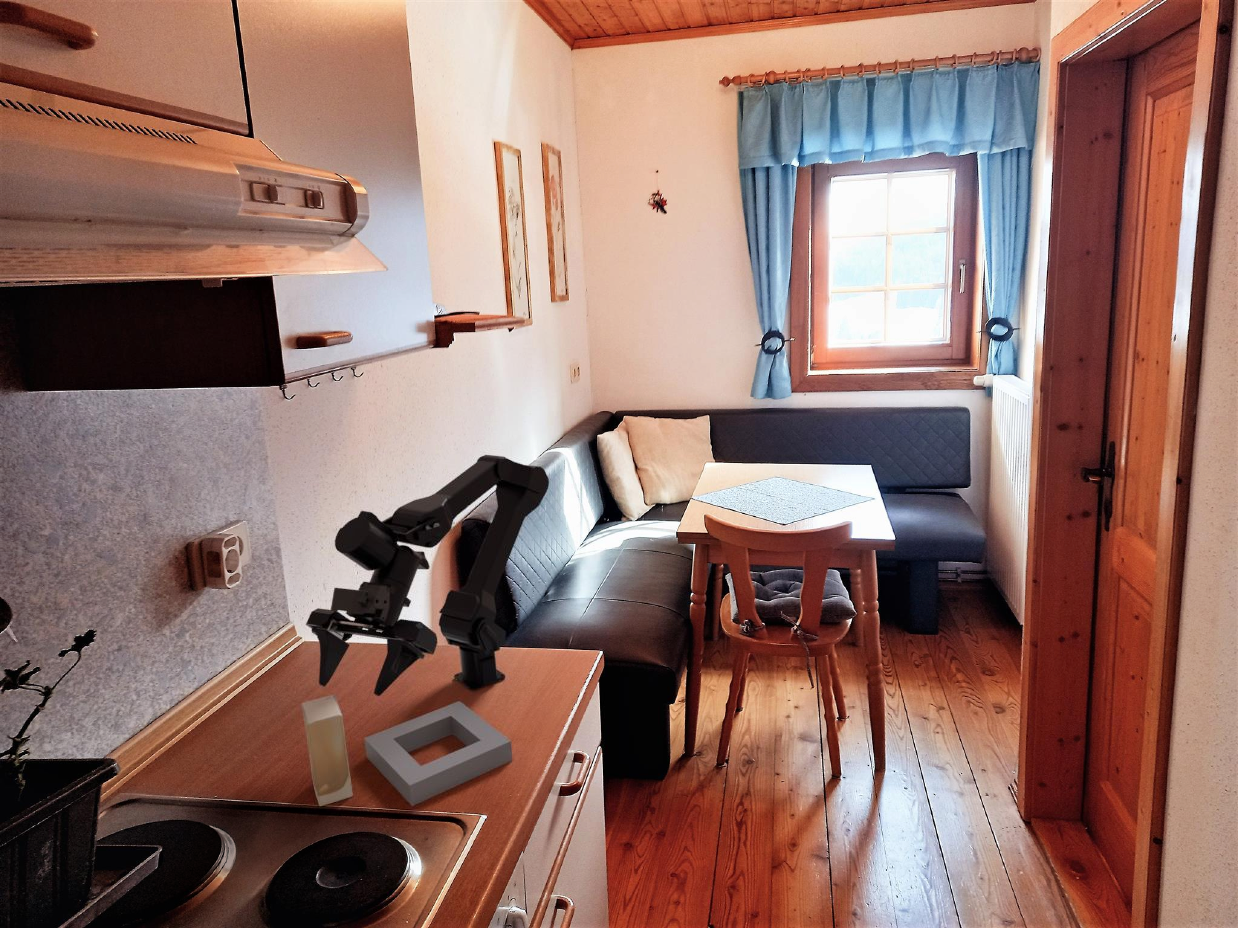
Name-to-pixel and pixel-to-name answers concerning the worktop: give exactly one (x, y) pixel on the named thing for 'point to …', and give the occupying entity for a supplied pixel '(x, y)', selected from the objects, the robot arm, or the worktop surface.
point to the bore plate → (447, 771)
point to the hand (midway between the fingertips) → (348, 690)
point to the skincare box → (327, 750)
